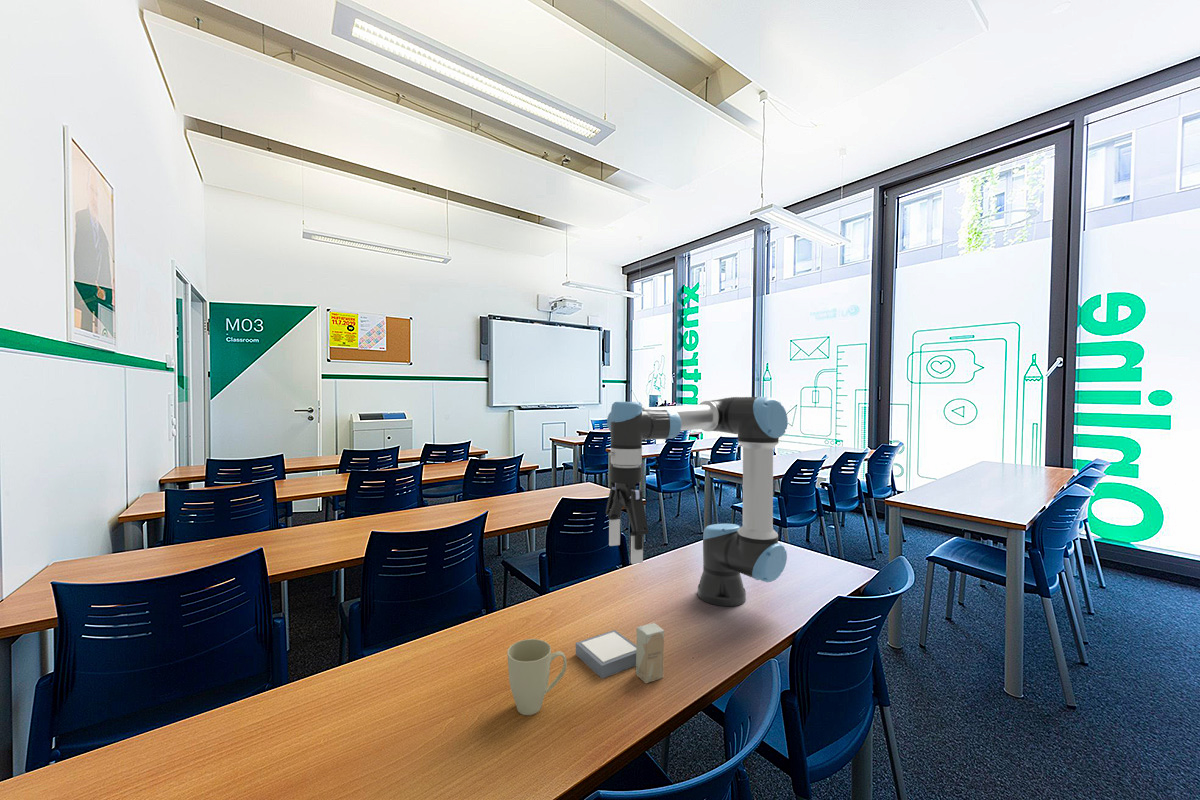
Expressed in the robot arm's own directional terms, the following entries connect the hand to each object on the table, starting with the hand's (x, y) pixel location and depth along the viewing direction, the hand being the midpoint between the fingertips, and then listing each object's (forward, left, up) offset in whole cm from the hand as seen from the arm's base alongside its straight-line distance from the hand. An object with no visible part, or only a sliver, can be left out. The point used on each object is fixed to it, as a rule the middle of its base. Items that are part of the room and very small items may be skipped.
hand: (624, 553), depth 113 cm
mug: (+25, +2, -27) cm, 37 cm away
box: (-2, +7, -27) cm, 28 cm away
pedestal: (+2, -4, -27) cm, 27 cm away
